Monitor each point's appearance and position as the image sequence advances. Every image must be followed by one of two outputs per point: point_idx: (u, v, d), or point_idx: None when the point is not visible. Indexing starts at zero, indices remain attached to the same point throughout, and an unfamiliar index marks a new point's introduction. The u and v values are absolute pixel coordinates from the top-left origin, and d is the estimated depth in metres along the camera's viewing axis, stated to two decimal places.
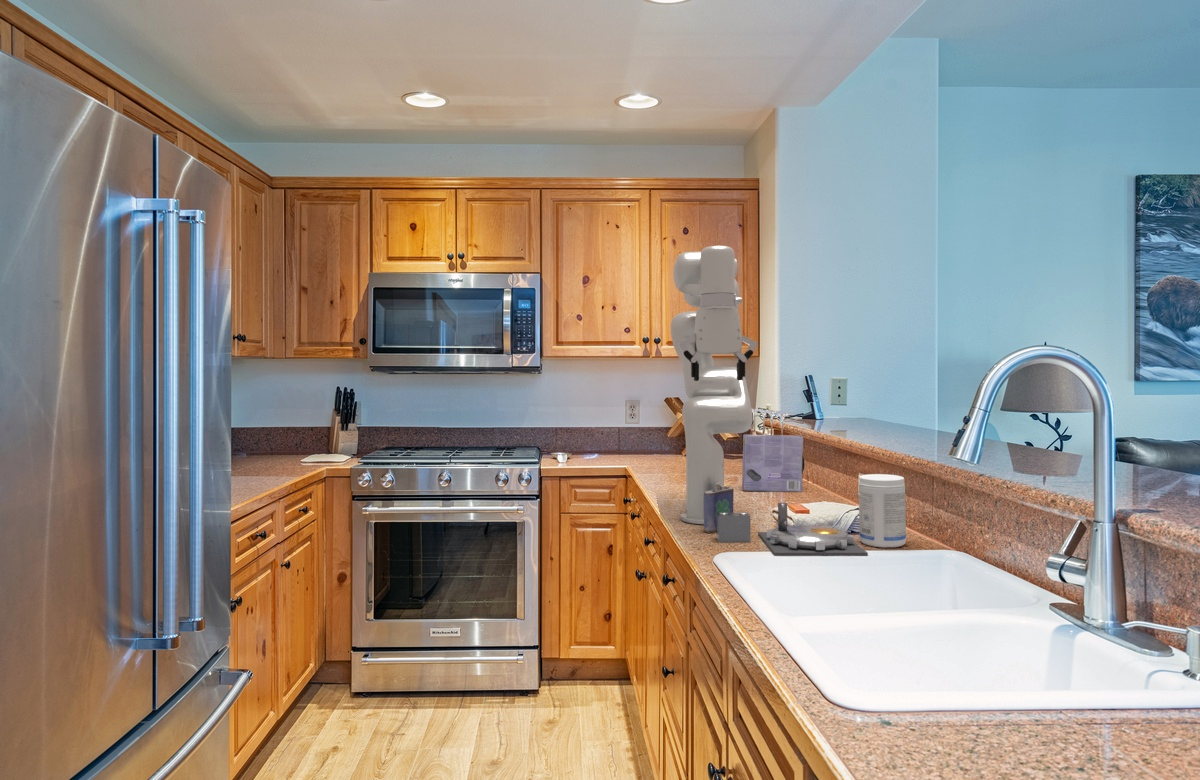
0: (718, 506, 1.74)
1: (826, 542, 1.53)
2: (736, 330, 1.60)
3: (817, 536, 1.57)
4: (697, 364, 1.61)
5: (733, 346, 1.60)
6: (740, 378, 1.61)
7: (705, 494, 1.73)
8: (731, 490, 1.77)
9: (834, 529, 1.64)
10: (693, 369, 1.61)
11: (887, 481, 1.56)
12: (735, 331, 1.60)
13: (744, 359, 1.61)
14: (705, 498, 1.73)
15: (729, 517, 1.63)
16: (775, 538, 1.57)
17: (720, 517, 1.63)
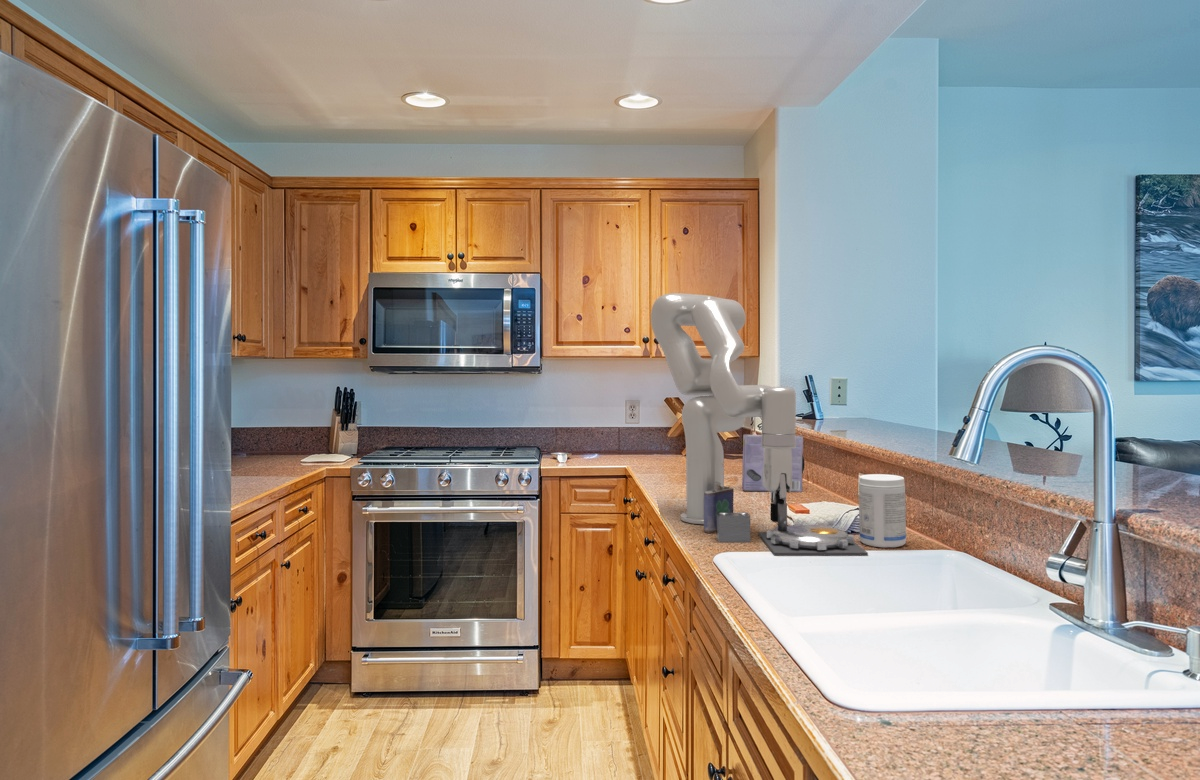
0: (718, 506, 1.74)
1: (827, 542, 1.53)
2: None
3: (817, 536, 1.57)
4: None
5: None
6: None
7: (705, 494, 1.73)
8: (731, 490, 1.77)
9: (833, 529, 1.64)
10: None
11: (887, 481, 1.56)
12: None
13: None
14: (705, 498, 1.73)
15: (729, 517, 1.63)
16: (776, 538, 1.57)
17: (720, 517, 1.63)
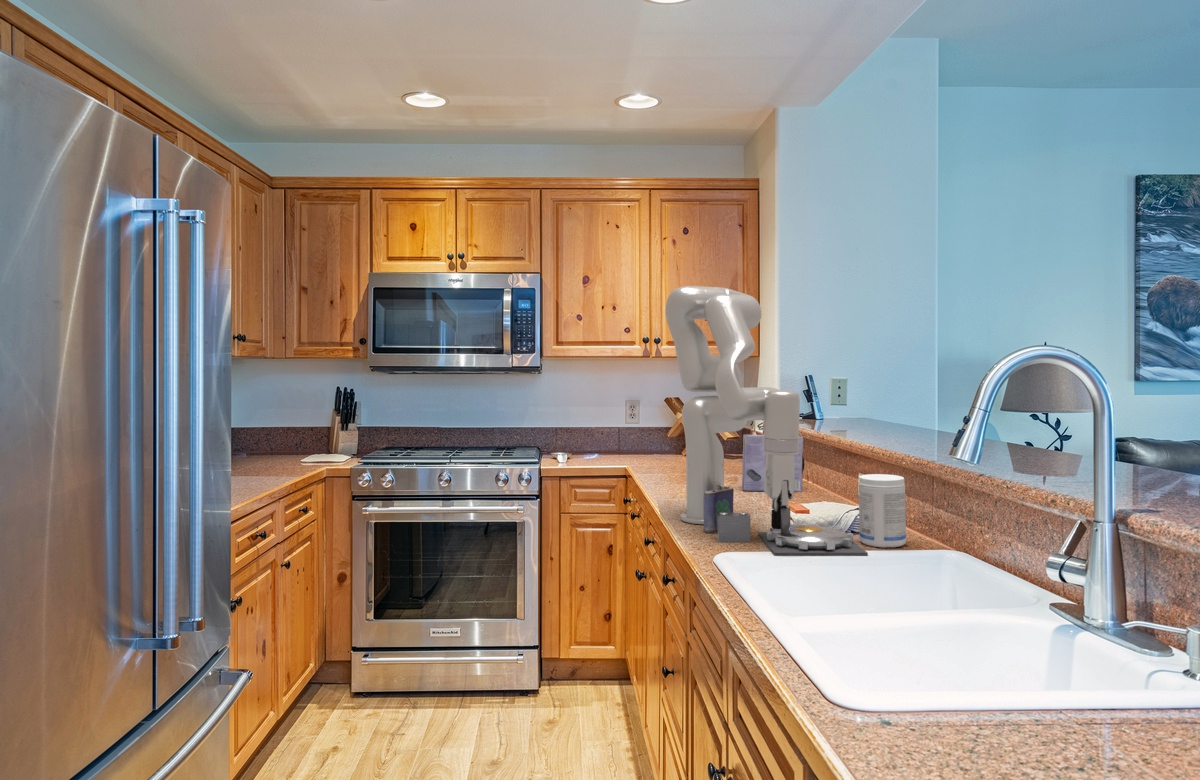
0: (718, 506, 1.74)
1: (847, 537, 1.56)
2: None
3: (825, 534, 1.59)
4: None
5: None
6: None
7: (705, 494, 1.73)
8: (731, 490, 1.77)
9: (808, 525, 1.67)
10: None
11: (887, 481, 1.56)
12: None
13: None
14: (705, 498, 1.73)
15: (729, 517, 1.63)
16: (807, 544, 1.52)
17: (720, 517, 1.63)
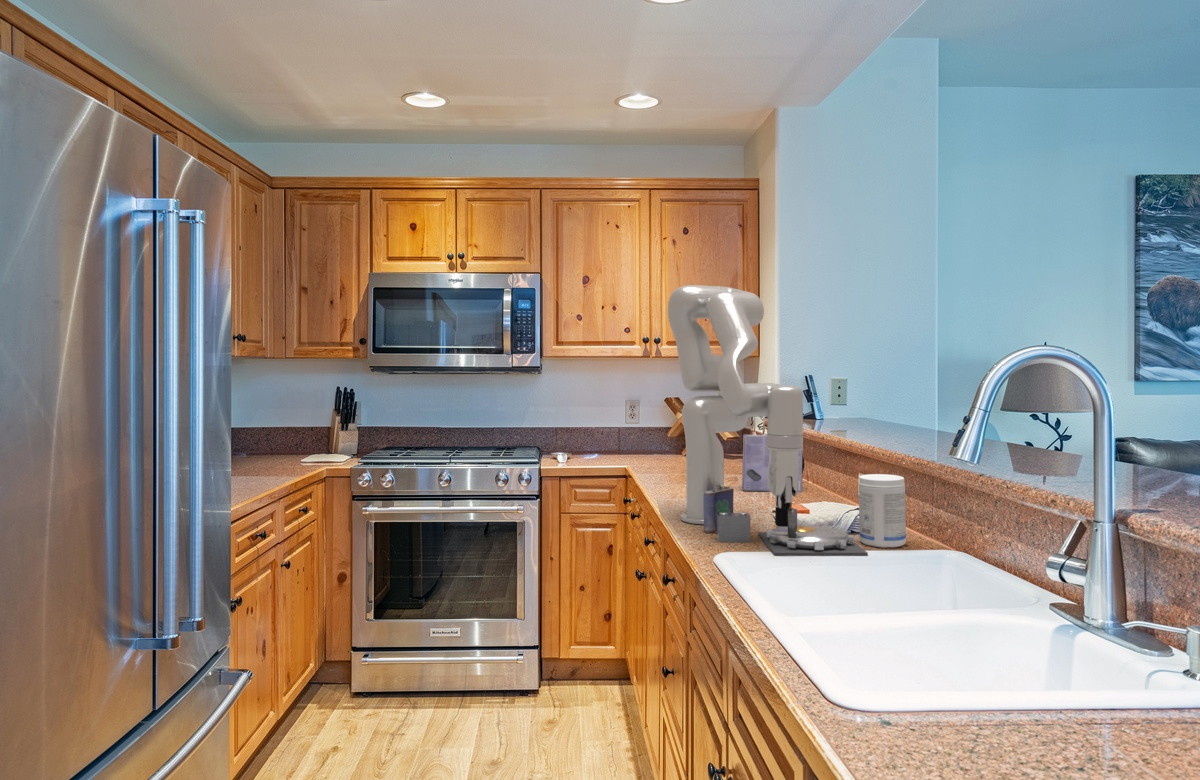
0: (718, 506, 1.74)
1: (847, 535, 1.59)
2: None
3: (825, 533, 1.60)
4: None
5: None
6: None
7: (705, 494, 1.73)
8: (731, 490, 1.77)
9: (797, 525, 1.68)
10: None
11: (887, 481, 1.56)
12: None
13: None
14: (705, 498, 1.73)
15: (729, 517, 1.63)
16: None
17: (720, 517, 1.63)
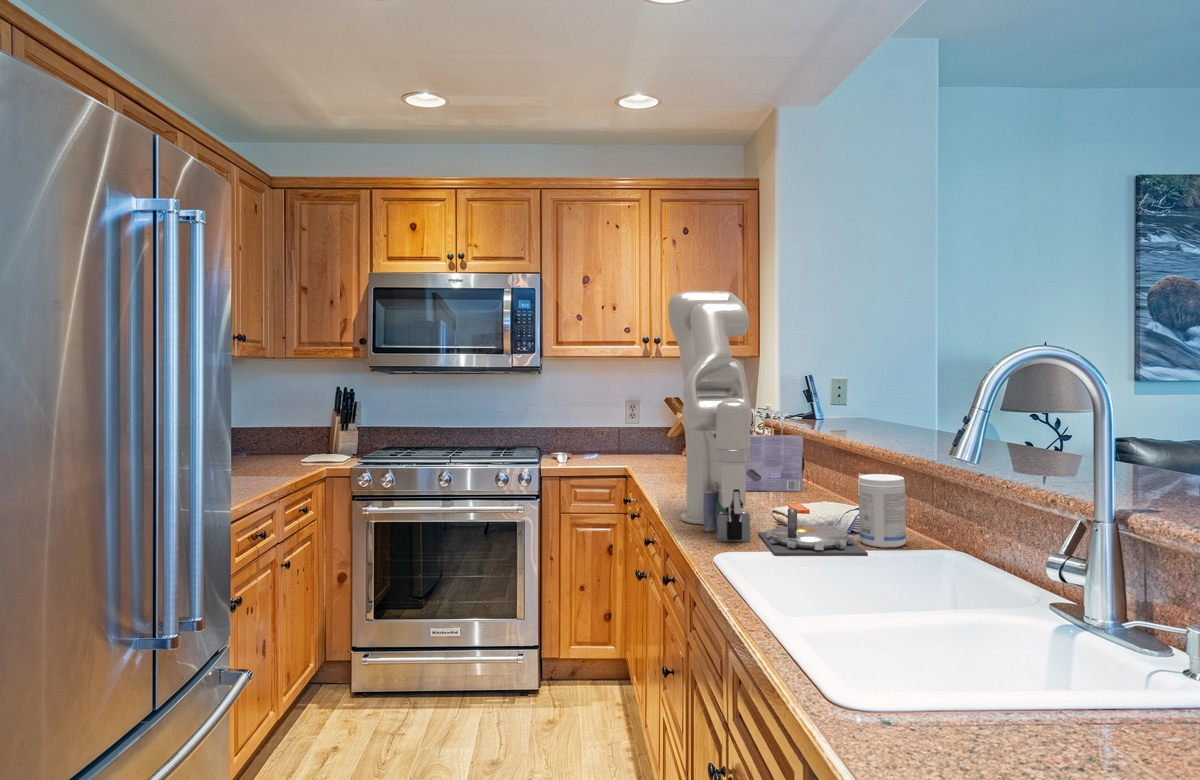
0: (718, 506, 1.74)
1: (847, 535, 1.59)
2: None
3: (825, 533, 1.60)
4: None
5: None
6: None
7: (705, 494, 1.73)
8: None
9: (797, 525, 1.68)
10: None
11: (887, 481, 1.56)
12: None
13: None
14: (705, 498, 1.73)
15: None
16: None
17: (720, 516, 1.63)
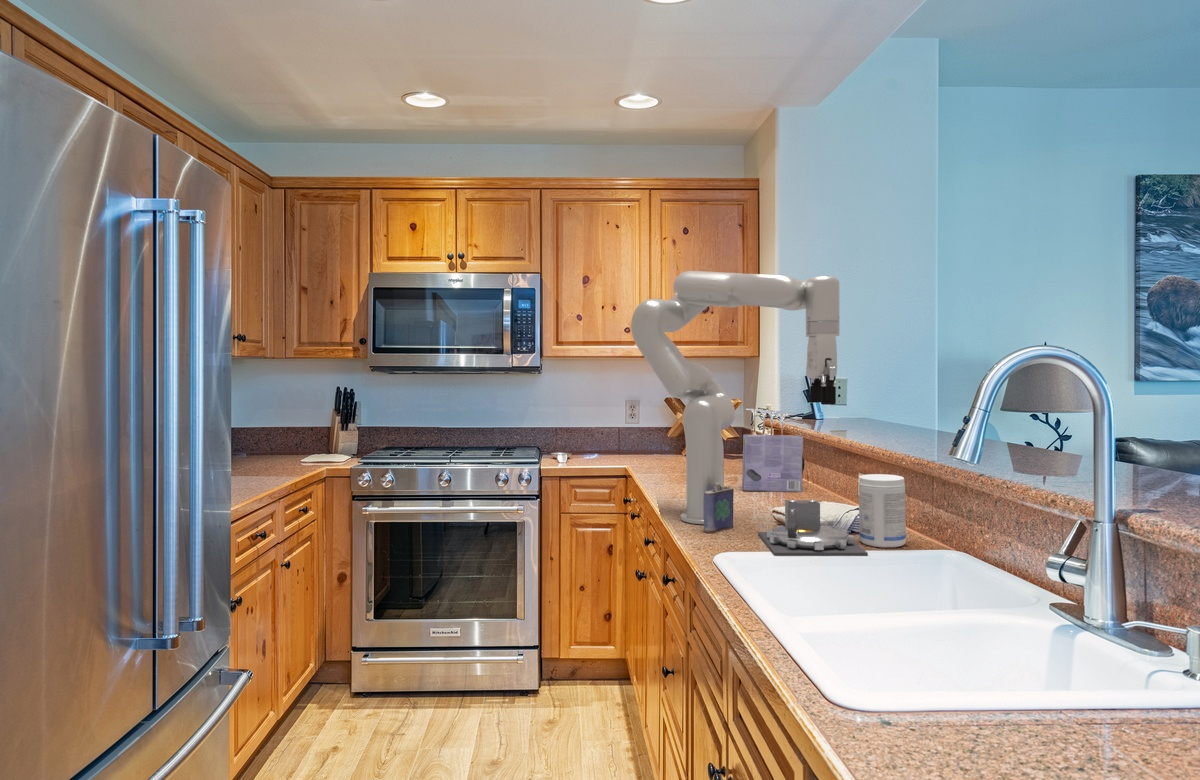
0: (718, 506, 1.74)
1: (847, 535, 1.59)
2: None
3: (825, 533, 1.60)
4: None
5: None
6: None
7: (705, 494, 1.73)
8: (731, 490, 1.77)
9: None
10: None
11: (887, 481, 1.56)
12: None
13: None
14: (705, 498, 1.73)
15: (799, 504, 1.63)
16: None
17: (790, 504, 1.63)
